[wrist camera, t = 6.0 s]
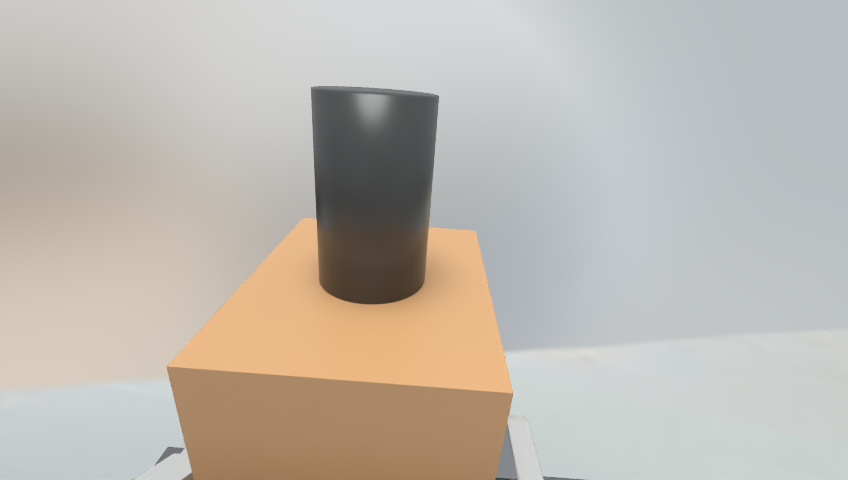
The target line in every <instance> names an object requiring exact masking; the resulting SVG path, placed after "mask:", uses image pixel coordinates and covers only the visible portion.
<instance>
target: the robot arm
mask: <svg viewBox="0 0 848 480" xmlns="http://www.w3.org/2000/svg"><path fill="white" fill-rule="evenodd" d="M134 480H194V478H193V474H192V470H191V466H190V462H189V458H188V453H187V449H186V446H185V448H184V449H183V451H182V452H181V454H175V453H174V454H172V455H171V456H169V457H167V458H166V459H164V460H163V461H161V462H160V463H158V464H157V465H155V466H154V467H152V468H150V469H149V470H147V471H146V472H144V473H143V474H141V475H140V476H138V477H137V478H135V479H134ZM495 480H544V479H543V475H542V471H541V467H540V463H539V460H538V456H537V452H536V448H535V444H534V441H533V437H532V433H531V429H530V425H529V422H528V419H527V418H526V417H525V416H510V415H509V416H508V421H507V426H506V431H505V436H504V440H503V445H502V450H501V455H500V460H499V465H498V469H497V474H496V479H495Z"/></svg>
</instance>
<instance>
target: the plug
mask: <svg viewBox="0 0 848 480" xmlns="http://www.w3.org/2000/svg"><path fill="white" fill-rule="evenodd" d="M311 99H312V123H313V146H314V169H315V192H316V193H315V194H316V217H317V219H312V218H303V219H302V220H301V221H300V222H299V223H298V224H297V225H296V226H295V228H293V230H292V231H291V232H290V233H289V234H288V235H287V236H286V237H285V238H284V239H283V240H282V242H281V243H280V244H279V245H278V246H277V247H276V248H275V249H274V250H273V251H272V252H271V253H270V255H269V256H268V257H267V258H266V259H265V260H264V261H263V262H262V263H261V264H260V265H259V267H258V268H257V269H256V270H255V271H254V272H253V273H252V274H251V275H250V276H249V277H248V278H247V280H246V281H245V282H244V283H243V284H242V285H241V286H240V287H239V288H238V290H236V291H235V293H234V294H233V295H232V296H231V297H230V298H229V299H228V300H227V301H226V302H225V304H224V305H223V306H222V307H221V308H220V309H219V310H218V311H217V312H216V313H215V314H214V315H213V317H212V318H211V319H210V320H209V321H208V322H207V323H206V324H205V325H204V326H203V327H202V328H201V330H200V331H199V332H198V333H197V334H196V335H195V336H194V337H193V338H192V339H191V341H190V342H189V343H188V344H187V345H186V346H185V347H184V348H183V349H182V350H181V351H180V352H179V353H178V354H177V356H176V357H175V358H174V359H173V360H172V361H171V362H170V363H169V364H168V365H167V370H168V374H169V379H170V383H171V387H172V391H173V395H174V399H175V404H176V408H177V412H178V416H179V420H180V424H181V428H182V433H183V437H184V441H185V445H186V449H187V453H188V458H189V462H190V466H191V470H192V474H193V478H194V480H495V479H496V474H497V469H498V465H499V460H500V455H501V450H502V445H503V440H504V436H505V431H506V426H507V421H508V416H509V411H510V406H511V402H512V397H513V390H512V386H511V382H510V377H509V373H508V369H507V364H506V360H505V356H504V351H503V347H502V343H501V339H500V334H499V330H498V326H497V321H496V317H495V313H494V308H493V304H492V300H491V295H490V291H489V287H488V282H487V278H486V274H485V269H484V265H483V261H482V256H481V252H480V248H479V243H478V239H477V235H476V231H470V230H456V229H444V228H430V227H429V218H430V205H431V192H432V180H433V167H434V153H435V141H436V128H437V115H438V102H439V96H438V95H434V94H429V93H421V92H413V91H403V90H392V89H378V88H362V87H339V86H319V87H311Z"/></svg>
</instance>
